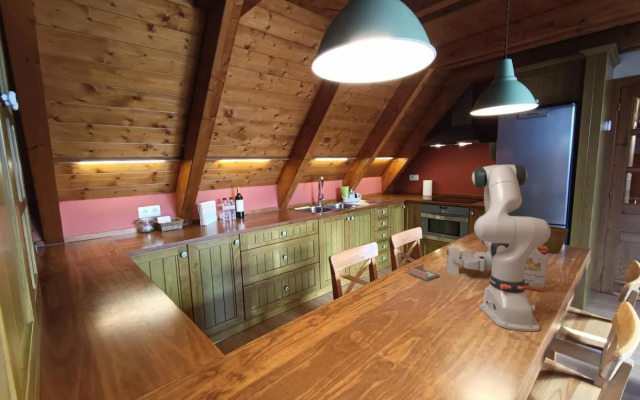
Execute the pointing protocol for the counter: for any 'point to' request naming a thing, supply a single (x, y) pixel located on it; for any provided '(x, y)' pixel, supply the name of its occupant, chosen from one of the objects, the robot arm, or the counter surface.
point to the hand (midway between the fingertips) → (451, 258)
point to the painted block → (452, 253)
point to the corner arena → (422, 273)
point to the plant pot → (556, 239)
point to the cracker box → (536, 269)
